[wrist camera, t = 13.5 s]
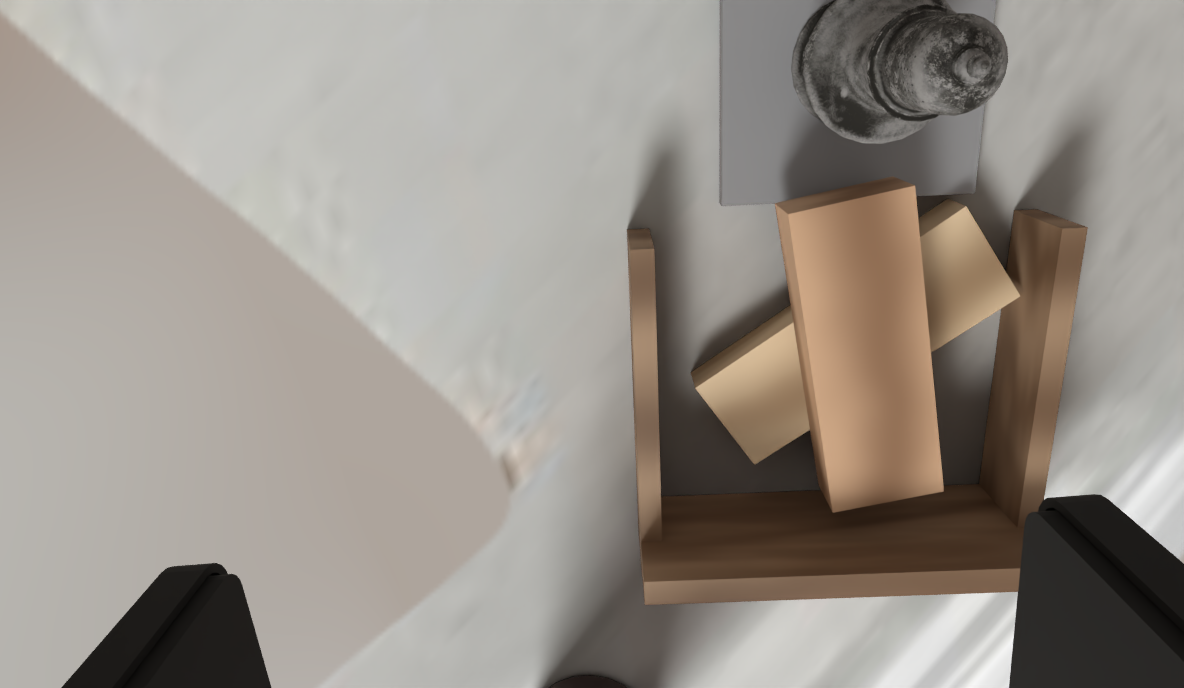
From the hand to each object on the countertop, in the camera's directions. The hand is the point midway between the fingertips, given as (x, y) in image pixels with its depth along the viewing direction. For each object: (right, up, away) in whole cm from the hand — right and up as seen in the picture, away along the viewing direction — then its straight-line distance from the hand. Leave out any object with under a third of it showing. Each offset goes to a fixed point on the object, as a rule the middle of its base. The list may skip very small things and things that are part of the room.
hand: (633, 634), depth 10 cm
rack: (+11, +2, +29) cm, 31 cm away
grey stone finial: (+10, +15, +24) cm, 30 cm away
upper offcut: (+11, +4, +26) cm, 29 cm away
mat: (+10, +15, +24) cm, 31 cm away
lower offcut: (+11, +4, +29) cm, 31 cm away
